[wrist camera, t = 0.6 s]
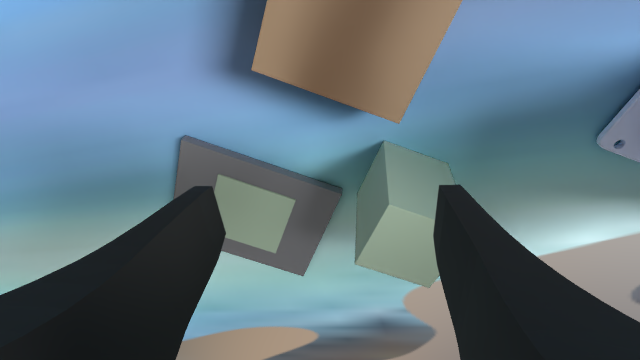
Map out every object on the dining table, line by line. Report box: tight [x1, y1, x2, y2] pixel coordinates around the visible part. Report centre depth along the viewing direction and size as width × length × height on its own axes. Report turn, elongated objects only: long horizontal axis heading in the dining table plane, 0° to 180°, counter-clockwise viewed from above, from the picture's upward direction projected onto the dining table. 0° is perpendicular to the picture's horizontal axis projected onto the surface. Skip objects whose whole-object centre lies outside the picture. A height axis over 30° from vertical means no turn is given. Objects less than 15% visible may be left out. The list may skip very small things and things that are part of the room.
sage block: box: [355, 141, 456, 288], centre depth 20 cm, size 4×4×6 cm
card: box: [174, 135, 342, 276], centre depth 24 cm, size 10×8×1 cm
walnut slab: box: [251, 0, 462, 124], centre depth 16 cm, size 7×7×4 cm
